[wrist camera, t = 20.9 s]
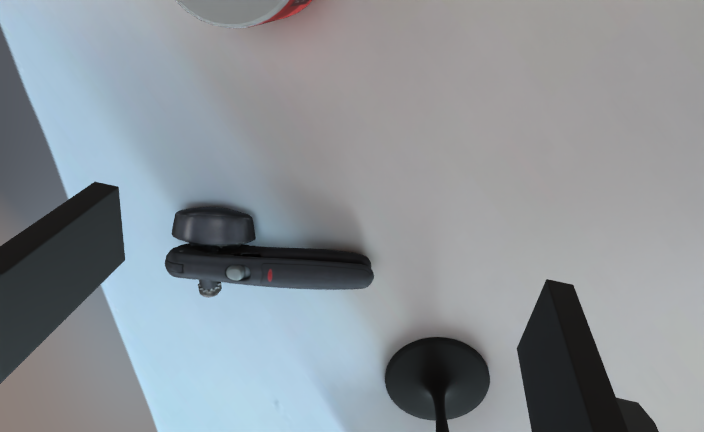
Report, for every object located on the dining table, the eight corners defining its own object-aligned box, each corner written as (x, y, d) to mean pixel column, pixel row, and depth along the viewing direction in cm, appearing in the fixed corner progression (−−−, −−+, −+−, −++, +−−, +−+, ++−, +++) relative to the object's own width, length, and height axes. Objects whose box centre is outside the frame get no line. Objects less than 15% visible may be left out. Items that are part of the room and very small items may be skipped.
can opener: (180, 264, 47) (154, 297, 42) (181, 195, 44) (153, 222, 39) (367, 296, 47) (364, 334, 42) (381, 230, 44) (379, 262, 39)
